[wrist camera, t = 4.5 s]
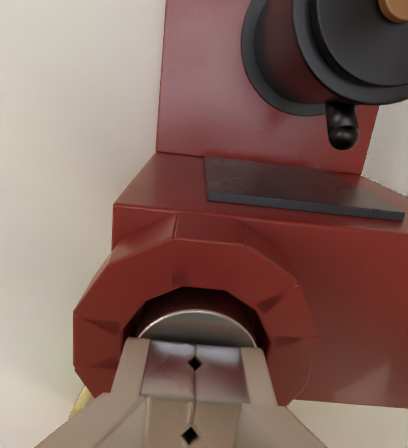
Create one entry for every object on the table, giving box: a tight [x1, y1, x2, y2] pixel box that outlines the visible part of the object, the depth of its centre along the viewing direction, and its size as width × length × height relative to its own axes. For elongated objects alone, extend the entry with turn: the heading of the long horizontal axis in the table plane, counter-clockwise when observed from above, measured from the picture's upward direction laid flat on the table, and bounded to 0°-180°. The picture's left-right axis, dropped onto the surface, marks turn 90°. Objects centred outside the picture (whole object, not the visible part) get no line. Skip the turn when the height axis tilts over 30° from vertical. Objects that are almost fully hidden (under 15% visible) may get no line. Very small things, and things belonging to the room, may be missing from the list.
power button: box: [135, 286, 258, 348], centre depth 9 cm, size 3×3×2 cm
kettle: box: [255, 0, 408, 150], centre depth 13 cm, size 6×9×8 cm, turn 173°
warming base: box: [156, 0, 406, 222], centre depth 14 cm, size 11×10×11 cm
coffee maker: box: [73, 152, 408, 409], centre depth 15 cm, size 12×6×14 cm, turn 83°
